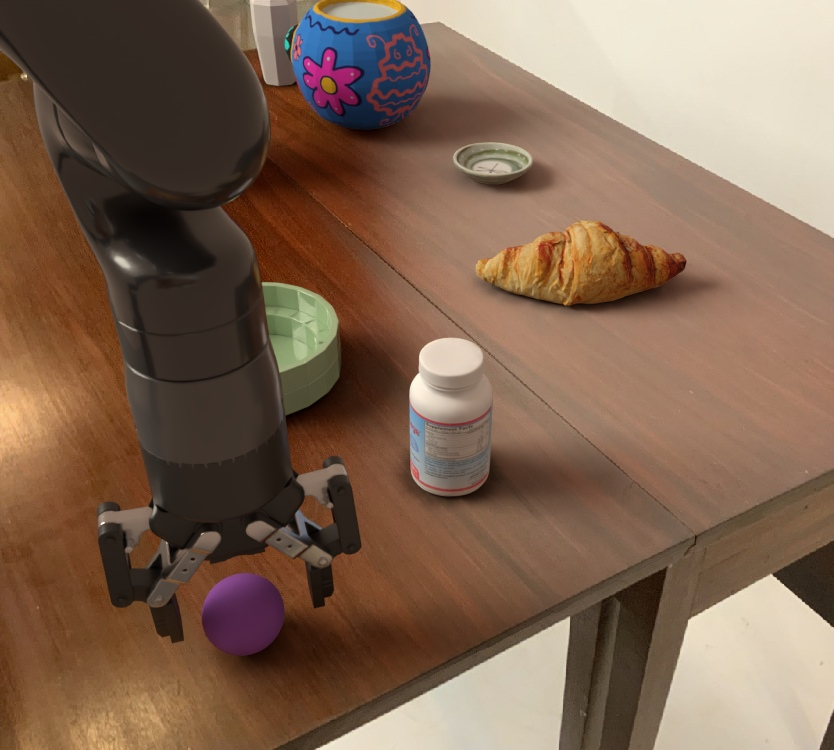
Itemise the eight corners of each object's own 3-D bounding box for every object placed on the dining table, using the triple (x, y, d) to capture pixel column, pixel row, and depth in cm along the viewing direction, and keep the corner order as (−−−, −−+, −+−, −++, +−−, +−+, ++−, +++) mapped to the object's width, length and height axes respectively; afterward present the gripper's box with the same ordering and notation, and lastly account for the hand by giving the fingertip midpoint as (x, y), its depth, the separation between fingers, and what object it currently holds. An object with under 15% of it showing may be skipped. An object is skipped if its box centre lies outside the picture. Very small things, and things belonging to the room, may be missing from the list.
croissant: (477, 329, 97) (481, 289, 90) (470, 244, 101) (473, 199, 94) (684, 321, 99) (704, 280, 92) (669, 237, 103) (687, 193, 96)
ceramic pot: (372, 87, 139) (367, -22, 130) (457, 125, 130) (459, 10, 121) (270, 118, 129) (258, 2, 120) (355, 161, 120) (348, 38, 111)
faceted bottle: (304, 72, 143) (292, -90, 130) (300, 88, 138) (286, -79, 125) (261, 71, 143) (243, -91, 130) (255, 87, 138) (236, -81, 125)
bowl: (181, 441, 77) (171, 391, 74) (166, 342, 87) (156, 295, 84) (357, 408, 81) (355, 359, 78) (322, 318, 92) (319, 272, 89)
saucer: (534, 162, 121) (536, 144, 120) (529, 196, 114) (530, 177, 112) (458, 156, 122) (458, 137, 121) (447, 190, 114) (447, 171, 113)
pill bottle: (419, 443, 78) (417, 326, 71) (494, 452, 77) (500, 336, 71) (402, 495, 73) (399, 375, 66) (482, 505, 73) (487, 385, 66)
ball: (212, 681, 59) (200, 629, 56) (203, 619, 63) (191, 567, 60) (294, 660, 61) (287, 608, 58) (280, 600, 65) (273, 548, 62)
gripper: (63, 487, 46) (131, 695, 55) (361, 429, 50) (375, 631, 60) (63, 394, 51) (125, 597, 61) (330, 347, 55) (348, 545, 65)
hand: (248, 614), depth 60 cm, fingers open, 8 cm apart
